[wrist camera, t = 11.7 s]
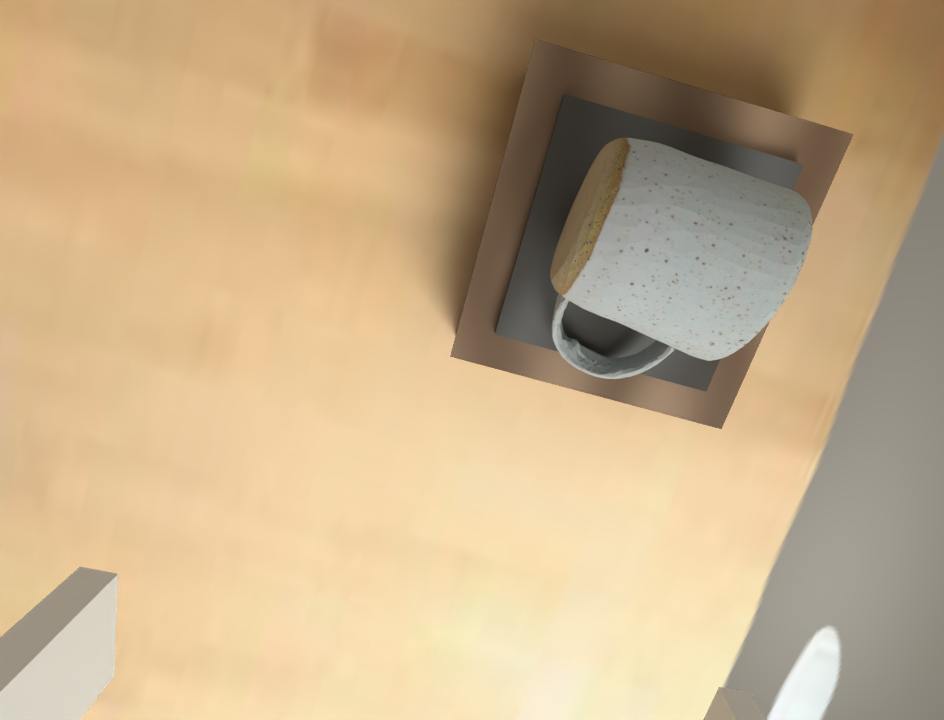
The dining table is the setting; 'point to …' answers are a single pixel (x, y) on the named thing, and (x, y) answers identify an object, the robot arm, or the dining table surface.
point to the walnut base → (554, 191)
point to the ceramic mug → (675, 254)
